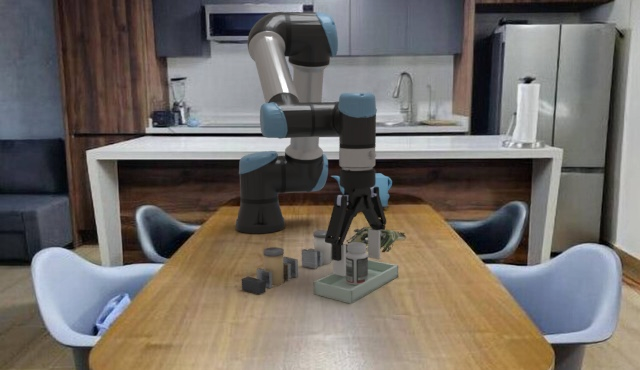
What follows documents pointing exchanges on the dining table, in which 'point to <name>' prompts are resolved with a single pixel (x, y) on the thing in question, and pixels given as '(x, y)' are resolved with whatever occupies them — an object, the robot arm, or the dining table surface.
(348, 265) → the pill bottle
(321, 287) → the tray
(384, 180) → the teapot
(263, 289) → the clip row
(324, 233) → the grey lidded jar
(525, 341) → the dining table surface
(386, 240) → the circuit board
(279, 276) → the cylinder
